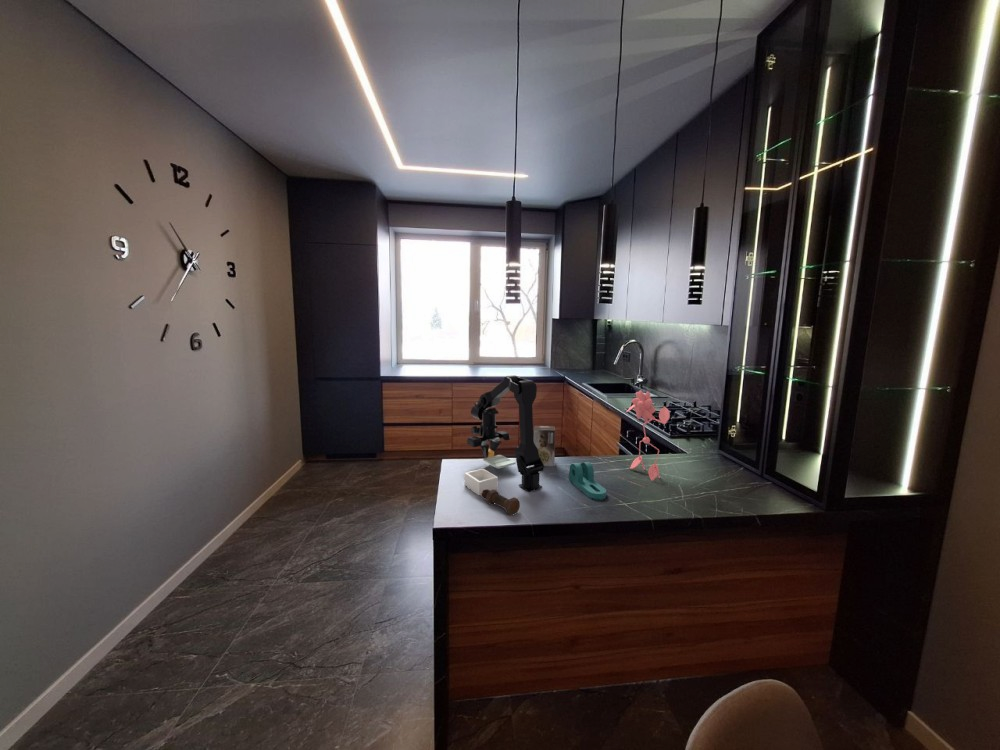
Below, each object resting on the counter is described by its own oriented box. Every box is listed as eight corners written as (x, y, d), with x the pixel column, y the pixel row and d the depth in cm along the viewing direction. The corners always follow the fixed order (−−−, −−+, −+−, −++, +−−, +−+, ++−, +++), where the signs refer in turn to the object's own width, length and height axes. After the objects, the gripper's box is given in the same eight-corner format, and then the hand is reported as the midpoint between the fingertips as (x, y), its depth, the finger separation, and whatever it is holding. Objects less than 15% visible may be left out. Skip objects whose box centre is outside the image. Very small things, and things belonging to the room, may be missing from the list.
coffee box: (554, 461, 172) (555, 425, 170) (554, 466, 166) (555, 430, 163) (533, 460, 173) (534, 425, 171) (533, 465, 167) (533, 429, 164)
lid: (515, 464, 160) (515, 457, 159) (498, 468, 155) (498, 461, 154) (494, 453, 172) (495, 447, 171) (478, 457, 167) (478, 450, 166)
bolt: (486, 502, 137) (516, 517, 126) (476, 499, 134) (506, 514, 123) (492, 486, 139) (522, 500, 128) (482, 483, 136) (512, 496, 125)
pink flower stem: (634, 462, 172) (637, 383, 166) (676, 486, 147) (682, 395, 142) (603, 466, 167) (606, 386, 162) (641, 492, 143) (646, 399, 137)
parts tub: (497, 490, 143) (497, 477, 142) (479, 495, 139) (479, 482, 138) (482, 480, 151) (482, 468, 150) (464, 485, 147) (464, 472, 146)
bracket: (569, 480, 153) (569, 461, 152) (584, 478, 155) (585, 459, 154) (592, 501, 136) (593, 479, 135) (609, 498, 138) (610, 477, 136)
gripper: (496, 415, 177) (495, 448, 180) (460, 421, 167) (460, 456, 169) (510, 420, 168) (510, 455, 171) (473, 427, 158) (474, 464, 160)
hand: (488, 457), depth 168 cm, fingers closed on lid, 2 cm apart
